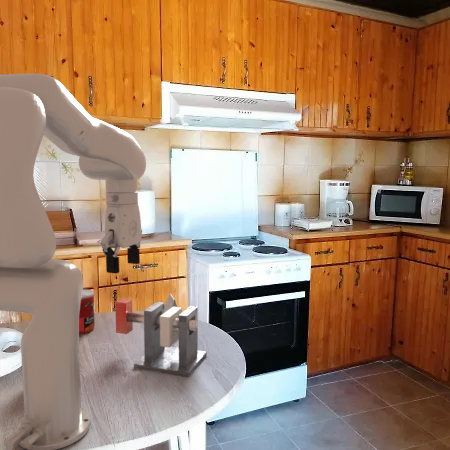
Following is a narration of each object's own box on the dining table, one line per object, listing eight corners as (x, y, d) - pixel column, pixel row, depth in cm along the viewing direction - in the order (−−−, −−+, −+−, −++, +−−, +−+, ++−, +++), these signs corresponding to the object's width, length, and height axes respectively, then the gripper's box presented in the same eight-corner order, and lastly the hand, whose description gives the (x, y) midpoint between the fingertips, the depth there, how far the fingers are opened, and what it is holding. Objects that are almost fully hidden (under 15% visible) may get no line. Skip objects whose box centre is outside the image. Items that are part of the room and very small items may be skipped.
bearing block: (188, 377, 98) (188, 320, 96) (133, 367, 102) (133, 313, 100) (206, 355, 109) (206, 304, 107) (156, 347, 113) (156, 298, 111)
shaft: (193, 344, 101) (194, 311, 100) (115, 332, 108) (115, 301, 106) (198, 339, 104) (198, 307, 103) (122, 328, 110) (121, 298, 109)
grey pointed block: (167, 334, 122) (167, 300, 121) (163, 326, 129) (163, 293, 127) (180, 333, 123) (180, 299, 122) (176, 324, 130) (176, 292, 128)
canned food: (90, 334, 121) (88, 297, 120) (61, 334, 121) (60, 296, 120) (98, 324, 129) (97, 289, 127) (71, 324, 129) (70, 288, 127)
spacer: (169, 347, 101) (169, 317, 100) (160, 346, 102) (159, 316, 101) (181, 335, 108) (181, 307, 107) (173, 334, 109) (173, 306, 108)
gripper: (116, 203, 95) (118, 278, 97) (152, 197, 111) (153, 261, 114) (87, 202, 97) (89, 275, 100) (126, 196, 113) (128, 259, 116)
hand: (123, 267), depth 107 cm, fingers open, 9 cm apart
